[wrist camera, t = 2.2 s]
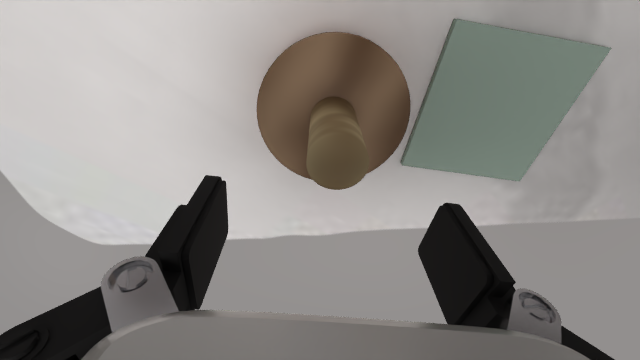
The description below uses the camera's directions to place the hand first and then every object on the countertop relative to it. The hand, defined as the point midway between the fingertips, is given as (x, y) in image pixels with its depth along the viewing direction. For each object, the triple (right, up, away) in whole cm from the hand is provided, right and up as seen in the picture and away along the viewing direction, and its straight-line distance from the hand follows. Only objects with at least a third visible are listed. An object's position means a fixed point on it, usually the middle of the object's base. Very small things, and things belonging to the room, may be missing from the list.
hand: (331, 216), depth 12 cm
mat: (+17, +8, +15) cm, 24 cm away
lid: (+1, +7, +10) cm, 12 cm away
